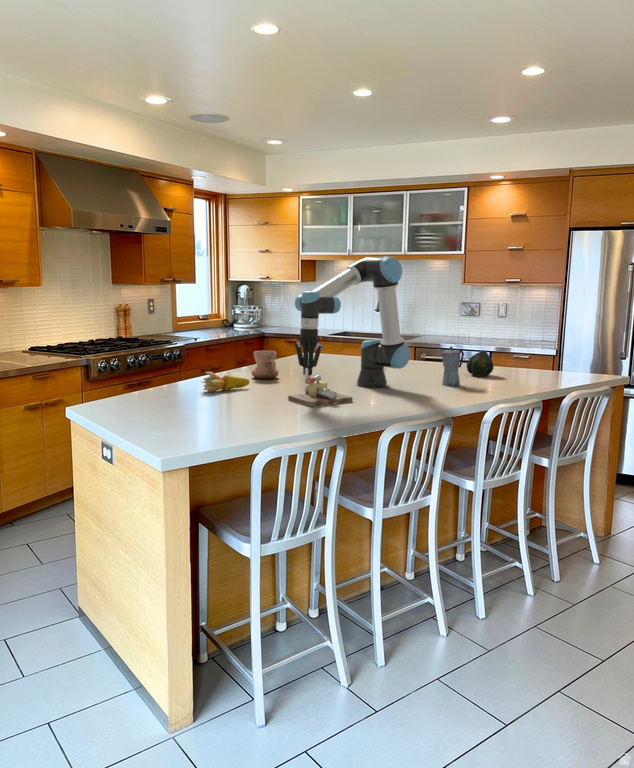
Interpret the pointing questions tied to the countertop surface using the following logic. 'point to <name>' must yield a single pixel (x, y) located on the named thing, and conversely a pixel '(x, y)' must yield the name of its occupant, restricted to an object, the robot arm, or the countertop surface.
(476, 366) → the squash
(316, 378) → the valve lever
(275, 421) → the countertop surface
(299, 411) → the countertop surface
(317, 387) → the valve pipe
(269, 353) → the ceramic jug
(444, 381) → the moka pot
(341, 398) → the mounting board
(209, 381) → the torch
